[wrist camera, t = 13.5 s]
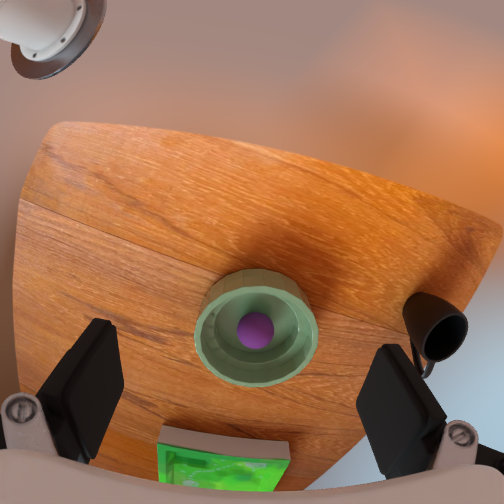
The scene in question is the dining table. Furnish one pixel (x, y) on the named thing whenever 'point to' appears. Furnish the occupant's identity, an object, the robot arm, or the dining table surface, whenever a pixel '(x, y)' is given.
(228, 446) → the tray
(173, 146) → the dining table surface
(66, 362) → the robot arm
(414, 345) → the mug
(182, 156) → the dining table surface
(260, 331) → the ball
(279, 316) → the green bowl
